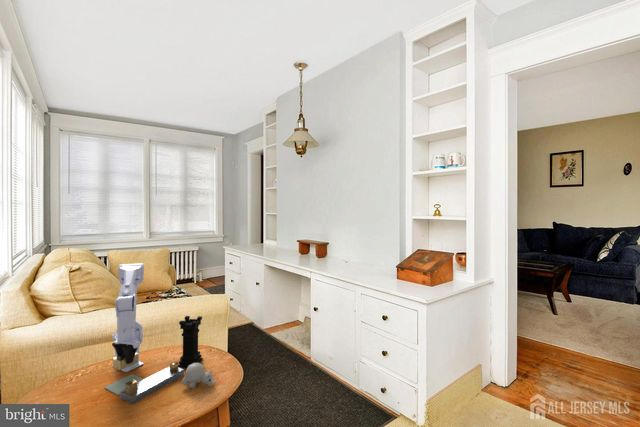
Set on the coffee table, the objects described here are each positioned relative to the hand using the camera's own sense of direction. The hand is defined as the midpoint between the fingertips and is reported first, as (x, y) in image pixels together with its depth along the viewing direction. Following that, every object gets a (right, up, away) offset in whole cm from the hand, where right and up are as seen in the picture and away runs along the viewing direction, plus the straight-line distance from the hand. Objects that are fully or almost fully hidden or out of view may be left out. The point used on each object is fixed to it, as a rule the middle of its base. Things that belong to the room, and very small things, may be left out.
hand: (125, 361), depth 128 cm
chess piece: (+18, -9, +18) cm, 27 cm away
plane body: (+11, -10, 0) cm, 15 cm away
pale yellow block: (0, -1, 0) cm, 1 cm away
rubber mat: (0, -9, +1) cm, 9 cm away
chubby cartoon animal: (+28, -11, +2) cm, 30 cm away
